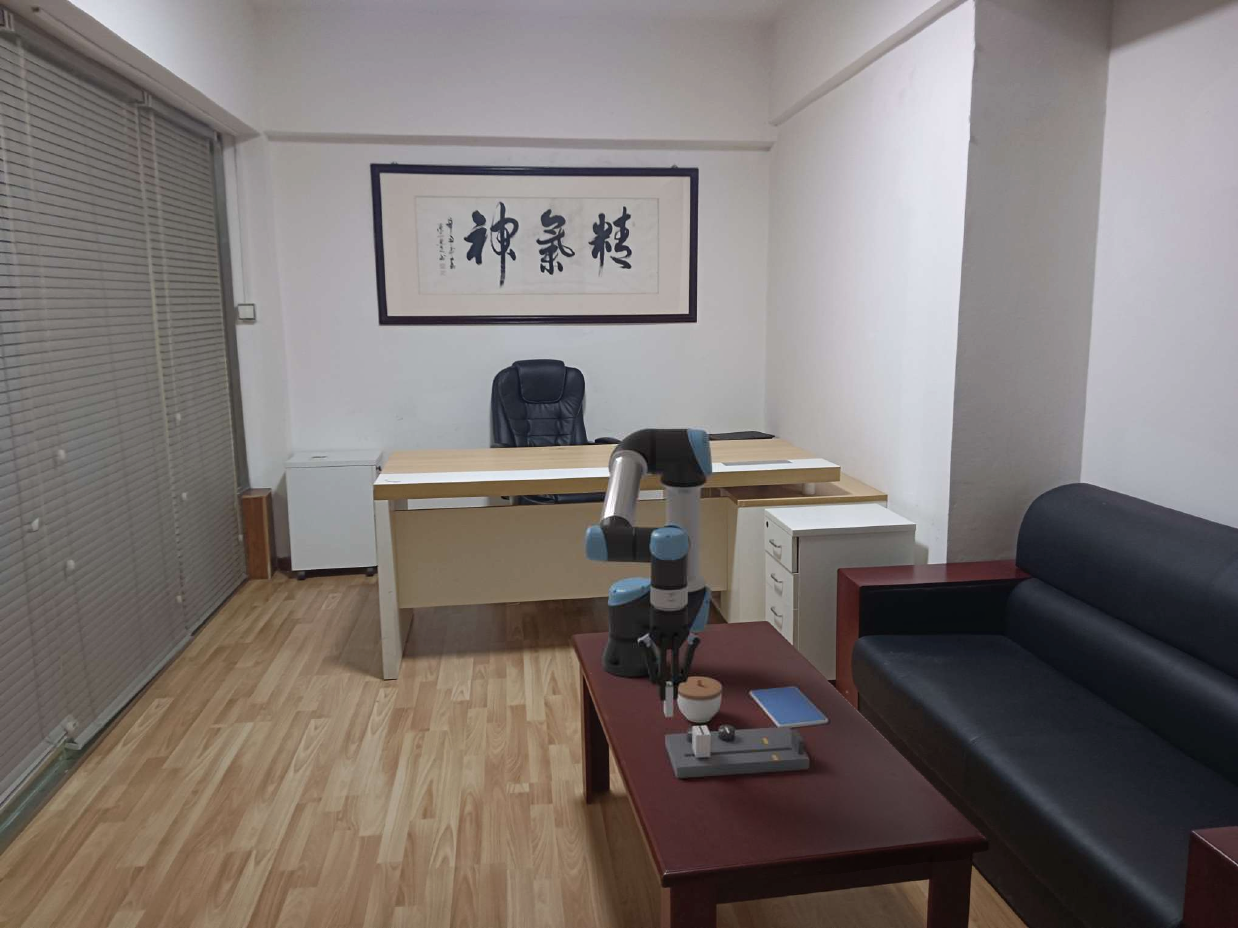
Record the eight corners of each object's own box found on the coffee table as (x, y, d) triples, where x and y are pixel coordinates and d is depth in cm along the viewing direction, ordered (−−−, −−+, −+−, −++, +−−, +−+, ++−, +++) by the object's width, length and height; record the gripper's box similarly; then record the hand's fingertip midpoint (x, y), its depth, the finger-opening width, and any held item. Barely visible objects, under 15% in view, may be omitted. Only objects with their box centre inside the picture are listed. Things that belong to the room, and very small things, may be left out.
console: (665, 744, 197) (665, 721, 196) (788, 736, 200) (789, 713, 199) (676, 778, 183) (676, 753, 182) (809, 768, 186) (809, 745, 185)
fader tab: (692, 747, 190) (692, 725, 189) (706, 746, 190) (706, 724, 189) (696, 757, 186) (696, 734, 185) (710, 756, 186) (710, 733, 185)
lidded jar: (719, 729, 204) (720, 691, 202) (672, 725, 206) (673, 687, 204) (723, 708, 214) (724, 671, 212) (679, 704, 216) (679, 668, 214)
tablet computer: (748, 694, 222) (748, 689, 222) (795, 689, 225) (795, 684, 225) (778, 731, 204) (778, 725, 203) (829, 724, 206) (829, 719, 206)
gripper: (639, 612, 176) (639, 724, 180) (704, 609, 178) (703, 720, 182) (634, 600, 184) (634, 707, 188) (696, 597, 185) (695, 704, 189)
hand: (668, 713), depth 185 cm, fingers closed
